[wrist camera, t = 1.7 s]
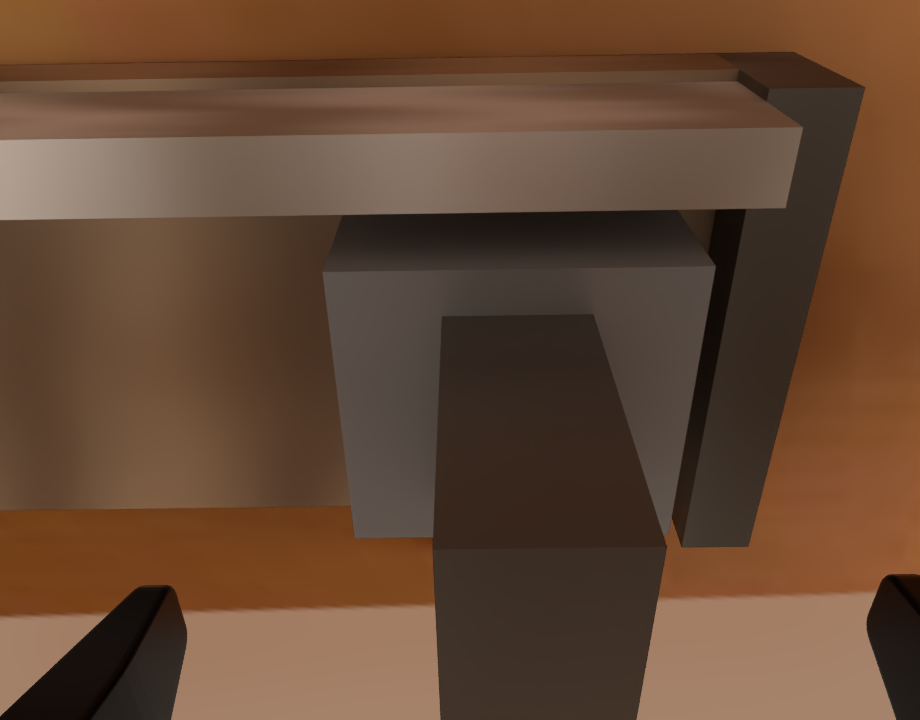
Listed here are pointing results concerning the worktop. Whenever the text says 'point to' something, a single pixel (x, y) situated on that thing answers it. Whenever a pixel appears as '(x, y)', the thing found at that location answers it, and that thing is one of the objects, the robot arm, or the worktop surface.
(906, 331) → the worktop surface
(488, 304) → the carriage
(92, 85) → the rail
